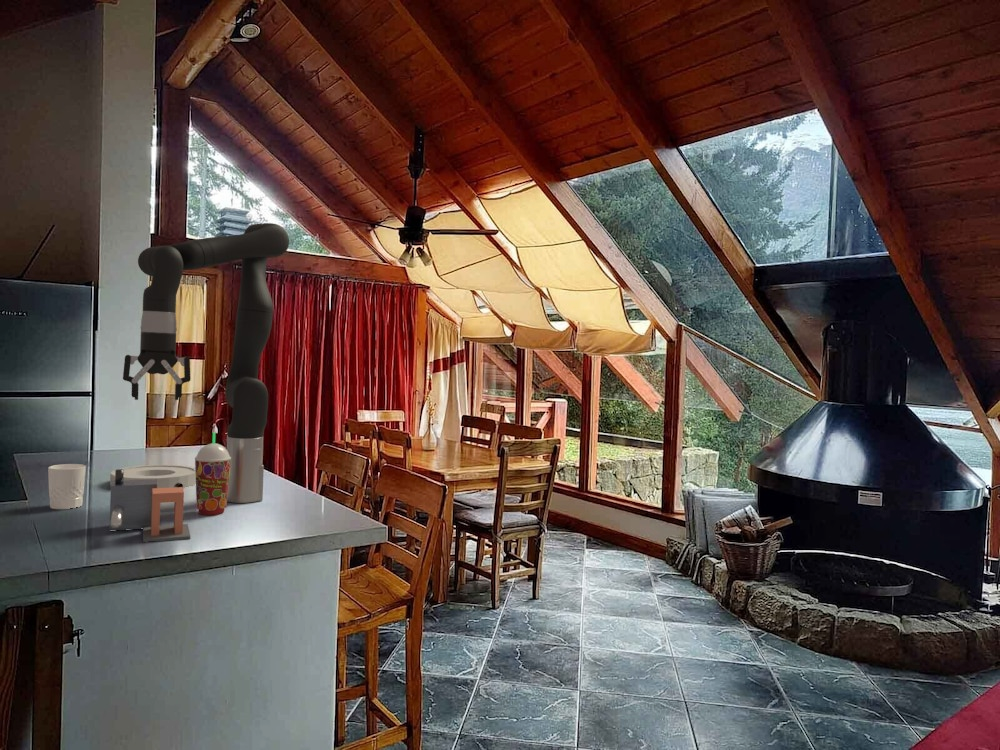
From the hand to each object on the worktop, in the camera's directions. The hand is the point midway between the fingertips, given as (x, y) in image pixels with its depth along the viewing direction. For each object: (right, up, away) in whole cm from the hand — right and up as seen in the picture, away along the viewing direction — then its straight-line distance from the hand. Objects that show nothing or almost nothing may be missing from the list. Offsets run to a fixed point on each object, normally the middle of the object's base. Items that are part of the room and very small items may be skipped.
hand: (156, 399), depth 163 cm
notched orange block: (+9, -28, -13) cm, 32 cm away
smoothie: (+10, -29, +8) cm, 31 cm away
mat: (+9, -29, -13) cm, 33 cm away
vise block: (+2, -29, -14) cm, 32 cm away
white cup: (-26, -27, +7) cm, 38 cm away
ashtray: (-20, -27, +39) cm, 52 cm away
